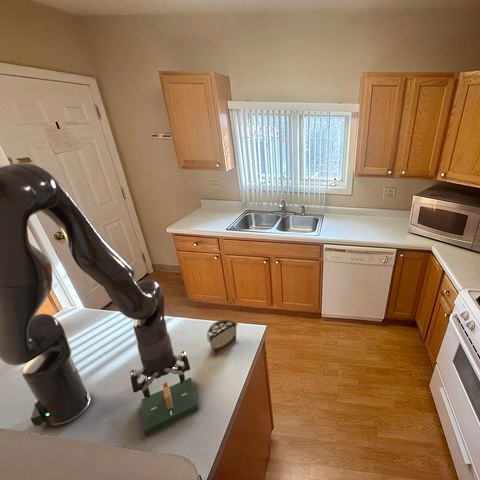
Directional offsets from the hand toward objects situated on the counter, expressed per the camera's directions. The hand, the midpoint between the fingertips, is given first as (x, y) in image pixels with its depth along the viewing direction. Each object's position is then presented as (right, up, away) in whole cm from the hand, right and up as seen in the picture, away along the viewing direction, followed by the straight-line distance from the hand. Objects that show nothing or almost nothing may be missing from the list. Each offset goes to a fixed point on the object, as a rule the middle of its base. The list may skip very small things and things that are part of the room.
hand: (165, 388), depth 76 cm
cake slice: (+7, +2, +26) cm, 27 cm away
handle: (0, -5, +2) cm, 5 cm away
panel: (0, -7, +3) cm, 8 cm away
